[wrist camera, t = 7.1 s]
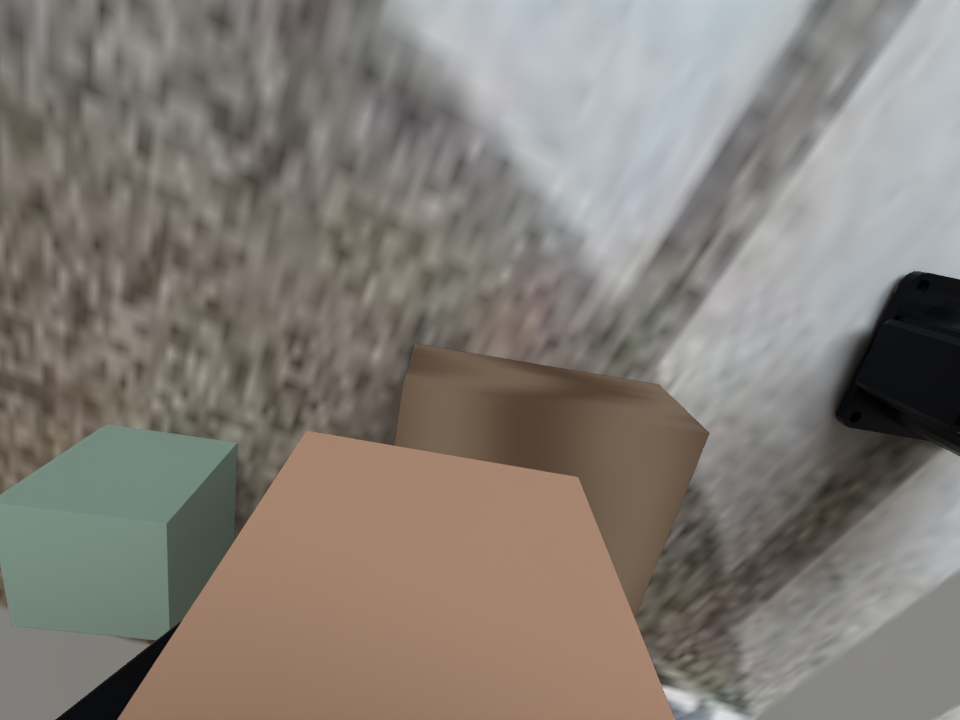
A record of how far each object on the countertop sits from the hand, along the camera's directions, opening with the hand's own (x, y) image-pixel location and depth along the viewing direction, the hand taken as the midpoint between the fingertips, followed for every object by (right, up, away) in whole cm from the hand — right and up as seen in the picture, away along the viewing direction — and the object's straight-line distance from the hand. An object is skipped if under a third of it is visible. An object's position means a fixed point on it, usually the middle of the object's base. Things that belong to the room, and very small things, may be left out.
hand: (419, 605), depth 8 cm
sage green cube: (-12, -1, +11) cm, 16 cm away
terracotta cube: (0, 0, +1) cm, 1 cm away
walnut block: (+2, 0, +12) cm, 12 cm away
